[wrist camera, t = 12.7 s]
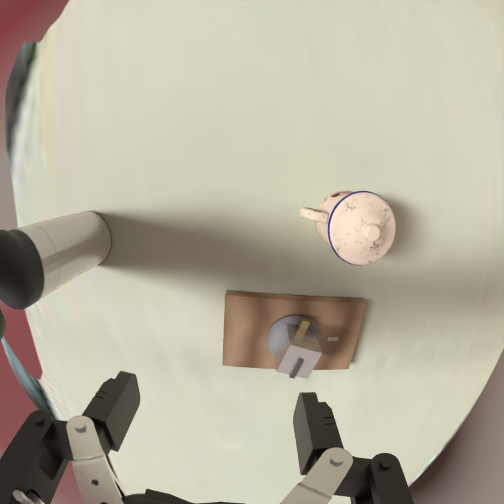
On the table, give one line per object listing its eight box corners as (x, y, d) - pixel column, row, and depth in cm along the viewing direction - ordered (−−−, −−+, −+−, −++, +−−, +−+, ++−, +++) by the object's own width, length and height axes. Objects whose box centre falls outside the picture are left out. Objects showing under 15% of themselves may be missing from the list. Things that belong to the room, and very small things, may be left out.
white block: (290, 314, 40) (296, 335, 34) (319, 322, 40) (328, 344, 34) (270, 357, 42) (271, 382, 36) (297, 364, 42) (302, 388, 36)
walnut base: (223, 358, 45) (222, 368, 43) (226, 290, 42) (224, 297, 40) (345, 362, 46) (349, 371, 43) (362, 298, 42) (368, 305, 40)
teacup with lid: (375, 198, 39) (415, 204, 27) (361, 255, 41) (394, 279, 29) (301, 177, 38) (320, 174, 27) (287, 238, 40) (300, 259, 29)
